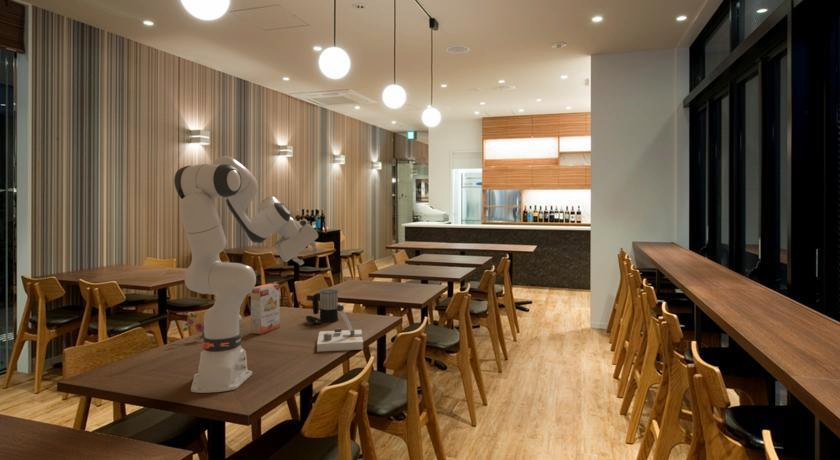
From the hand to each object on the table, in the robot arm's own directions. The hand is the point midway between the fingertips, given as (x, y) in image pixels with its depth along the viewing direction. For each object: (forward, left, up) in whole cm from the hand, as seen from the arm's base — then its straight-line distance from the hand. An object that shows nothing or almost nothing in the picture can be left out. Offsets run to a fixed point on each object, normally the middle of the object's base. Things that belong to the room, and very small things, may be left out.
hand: (309, 258), depth 218 cm
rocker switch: (-2, -11, -31) cm, 33 cm away
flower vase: (+23, +43, -36) cm, 60 cm away
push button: (-10, -7, -32) cm, 34 cm away
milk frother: (+35, -3, -36) cm, 50 cm away
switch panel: (-6, -12, -35) cm, 38 cm away
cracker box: (+22, +22, -36) cm, 47 cm away
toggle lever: (-6, -17, -31) cm, 36 cm away
